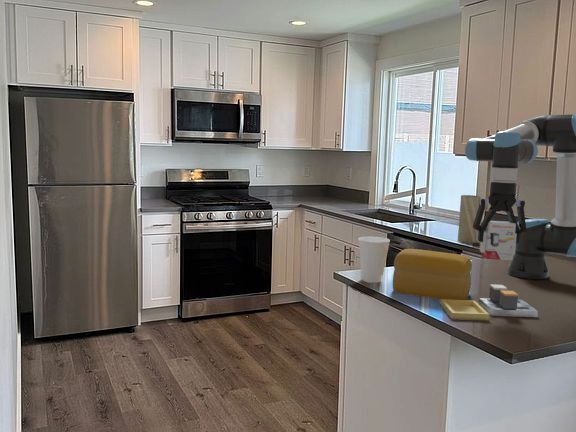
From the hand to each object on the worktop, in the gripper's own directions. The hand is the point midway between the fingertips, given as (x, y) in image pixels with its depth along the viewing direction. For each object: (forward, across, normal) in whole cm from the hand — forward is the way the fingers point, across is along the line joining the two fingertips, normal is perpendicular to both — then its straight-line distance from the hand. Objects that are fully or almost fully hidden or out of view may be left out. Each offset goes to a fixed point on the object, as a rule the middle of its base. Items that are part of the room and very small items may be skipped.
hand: (497, 252), depth 170 cm
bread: (+19, +16, -16) cm, 29 cm away
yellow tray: (+18, +11, +6) cm, 22 cm away
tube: (+17, -30, -123) cm, 128 cm away
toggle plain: (+16, -2, -2) cm, 16 cm away
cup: (+19, +35, -31) cm, 50 cm away
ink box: (+2, 0, 0) cm, 2 cm away
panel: (+18, -4, +2) cm, 19 cm away
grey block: (+16, -3, +5) cm, 17 cm away
